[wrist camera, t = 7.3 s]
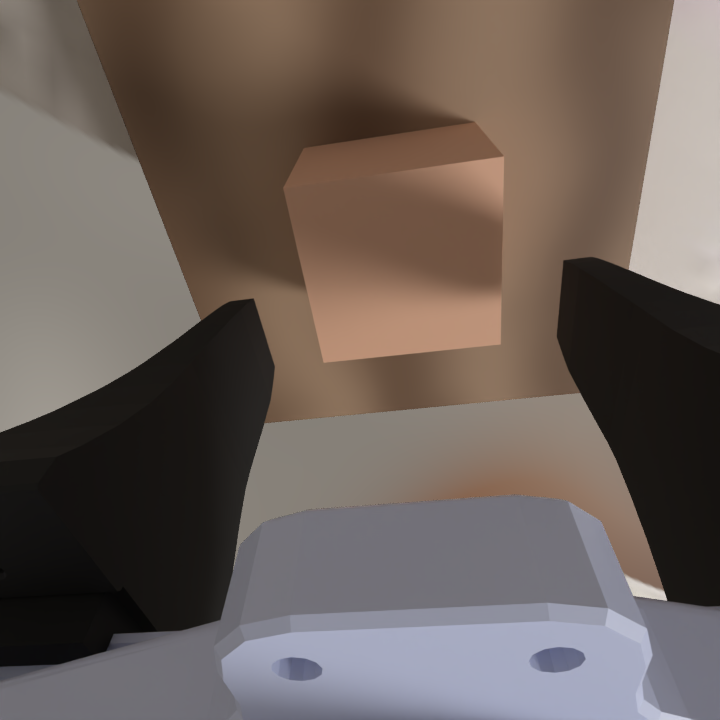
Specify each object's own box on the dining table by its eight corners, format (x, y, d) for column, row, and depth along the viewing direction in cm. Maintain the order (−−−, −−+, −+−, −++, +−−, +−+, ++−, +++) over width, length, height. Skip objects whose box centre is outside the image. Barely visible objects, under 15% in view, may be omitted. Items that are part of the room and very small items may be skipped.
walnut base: (647, -110, 13) (696, -131, 11) (586, 354, 22) (607, 390, 20) (116, -3, 15) (75, -5, 13) (253, 388, 23) (241, 425, 21)
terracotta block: (474, 122, 14) (504, 156, 11) (477, 279, 17) (500, 344, 14) (303, 148, 15) (283, 188, 12) (333, 296, 18) (323, 362, 14)
